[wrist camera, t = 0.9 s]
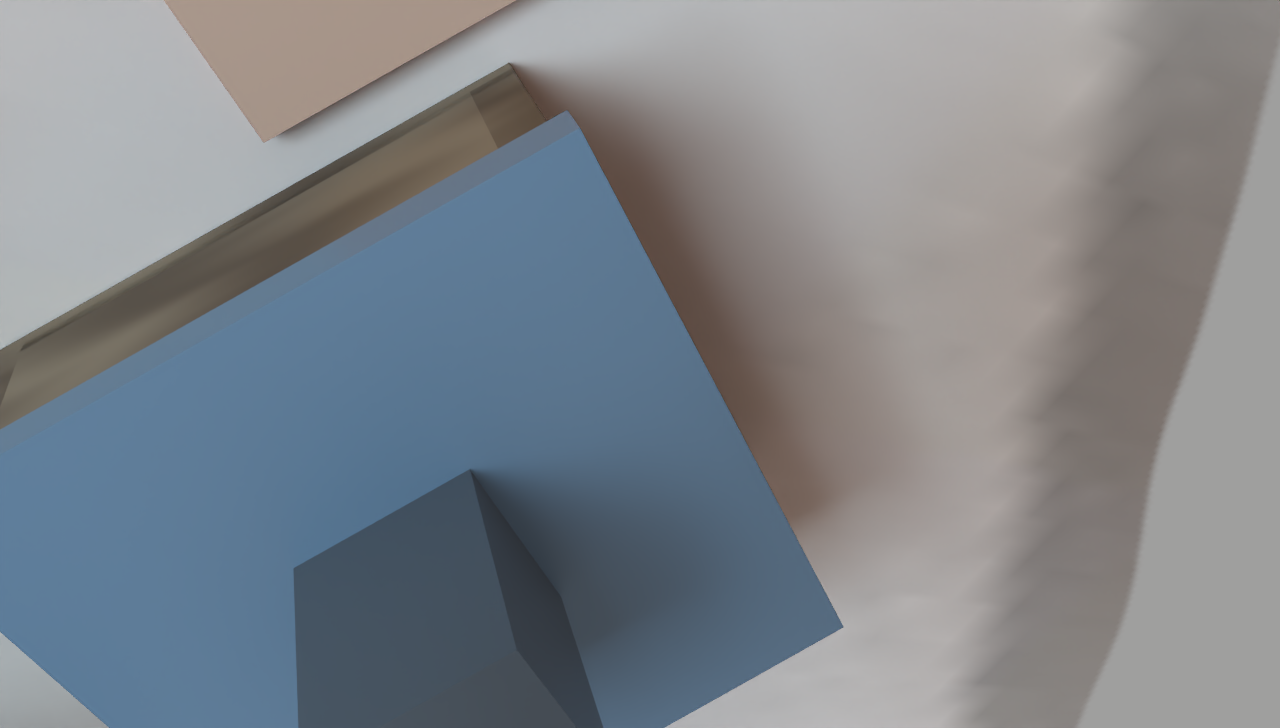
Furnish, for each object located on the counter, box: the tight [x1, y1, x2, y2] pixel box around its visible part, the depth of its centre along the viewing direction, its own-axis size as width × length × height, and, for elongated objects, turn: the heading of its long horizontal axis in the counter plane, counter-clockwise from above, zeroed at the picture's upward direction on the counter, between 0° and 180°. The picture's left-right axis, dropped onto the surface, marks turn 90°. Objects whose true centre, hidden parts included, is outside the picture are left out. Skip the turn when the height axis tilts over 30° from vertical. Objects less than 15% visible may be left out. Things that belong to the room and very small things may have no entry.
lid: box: [0, 110, 843, 728], centre depth 18 cm, size 11×11×6 cm
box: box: [0, 63, 546, 429], centre depth 21 cm, size 10×10×4 cm
